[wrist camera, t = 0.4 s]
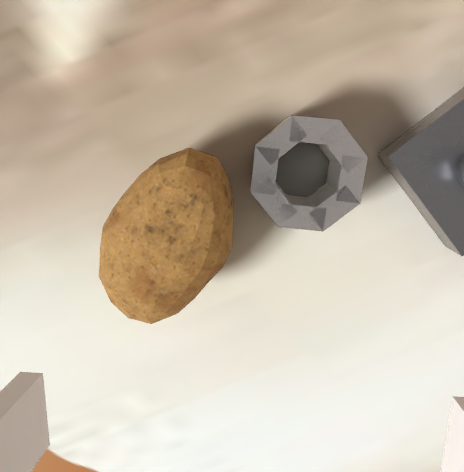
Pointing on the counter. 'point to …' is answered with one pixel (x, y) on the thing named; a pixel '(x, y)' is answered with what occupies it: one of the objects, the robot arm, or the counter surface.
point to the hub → (327, 196)
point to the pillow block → (434, 169)
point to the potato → (167, 236)
